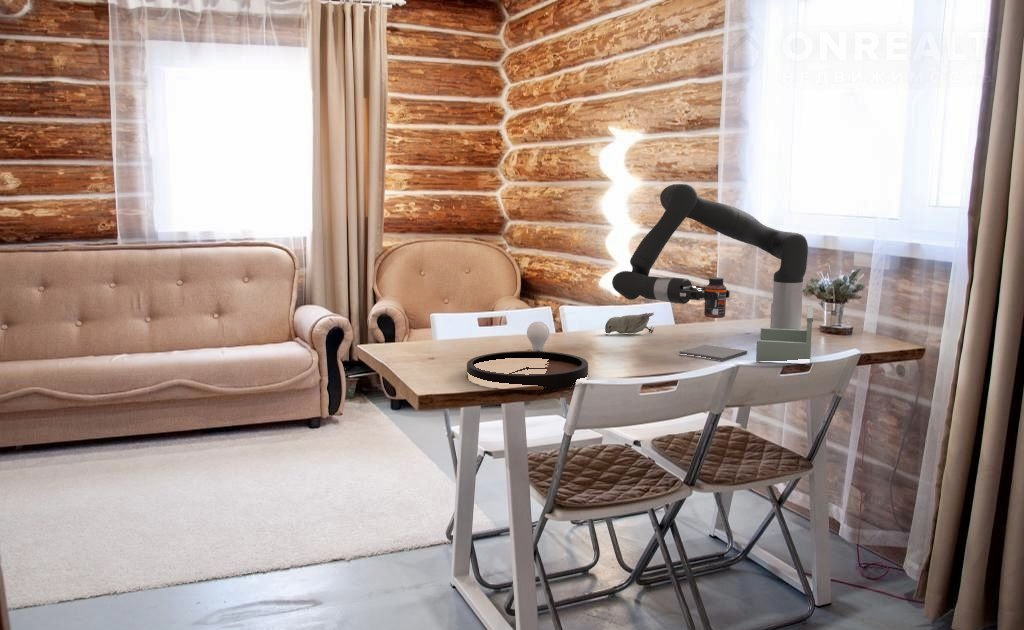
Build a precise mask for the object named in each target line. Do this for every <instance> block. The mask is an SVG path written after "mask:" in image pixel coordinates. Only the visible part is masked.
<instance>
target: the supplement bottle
mask: <svg viewBox="0 0 1024 630" xmlns="http://www.w3.org/2000/svg"><path fill="white" fill-rule="evenodd" d="M708 282H709V283H708V284H706V285H705V286H706V288H705V292H706V291H708V292H717V293H718V300H708V299H705V300H704V310H703V311H704V317H706V318H710V319H722V318H725V317H726V307H727V306H726V305H727V303H726V302H727V298H726V290H727V287H726V286H725V284H724V277H718V276H717V277H715V276H713V277H712V276H711V277H709V279H708Z"/></svg>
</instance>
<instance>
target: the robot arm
mask: <svg viewBox="0 0 1024 630" xmlns="http://www.w3.org/2000/svg"><path fill="white" fill-rule="evenodd" d="M659 196H660V197H659V199H660V204H661V206H662V208H663V209H664V210H665V211H664V212H663V214H662V216H661V217H660V219H659V220H658V221H657V223H656V224H655V225H654V226H653V227H652V228H651V230H649V232H648V233H646V235H645V236H644V237H643V239H642V240H641V241H640V242H639V245H638V246H637V248H636V249H635V251H634V252H633V254H632V256H631V257H630V258H629V259H630V260H629V263H630V265H631V268H632V270H631V271H630V270H622V271H619V272H618V273H616V274H614V276H613V277H612V280H611V286H612V288H613V289H614V291H616V292H617V293H618V294H620V296H622V297H624V298H625V299H627V300H629V301H632V300H636V299H637V298H639V297H642V298H645V300H646V299H647V300H652V301H661V302H664V303H672V304H680V305H685V304H688V303H689V302H690V300H691V301H705V299H708V300H718V293H717V292H708V291H706V292H705V288H706V286H707V285H700V284H694V285H692V281H691V280H690V279H688V278H681V277H672V276H663V277H661V276H652V275H651V276H650V272H651V269H652V268H653V266H654V264H655V263H656V261H657V259H658V258H659V256H660V255H661V253H662V251H663V250H664V248H665V246H666V245H667V243H668V242H669V240H670V239H671V237H672V236H673V235H674V233H675V232H676V231H677V229H678V228H679V227H680V225H681V224H682V223H683V222H684V221H685V219H691V220H693V221H695V222H697V223H700V224H702V225H704V226H705V227H707V228H710V229H712V230H713V231H716V232H717V233H718V234H721V235H724V236H725V237H729V238H731V239H733V240H736V241H738V242H741V243H745V244H748V245H752V246H754V247H757V248H759V249H761V250H763V251H764V252H766V253H768V254H770V255H771V256H772V257H775V258H777V259H778V260H780V267H779V269H778V270H777V271H775V272H774V273H773V284H772V285H773V286H772V303H771V306H770V324H769V326H770V327H769V328H773V329H795V330H802V315H803V314H802V312H803V310H802V309H803V295H804V294H803V293H804V291H803V289H804V288H803V287H804V277H805V275H806V273H807V265H808V255H809V244H808V239H806V237H805V236H804V235H803V234H801V233H799V232H789V231H784V230H783V231H782V230H780V229H775V228H772V227H770V226H767V225H766V224H763V223H762V222H760V221H759V220H758V219H757V218H756V217H754V216H753V215H751V214H750V213H749V212H748V213H747V212H746V211H744V210H742V209H739V208H736V207H735V206H731V205H728V204H725V203H721V202H717V201H712V200H709V199H705V198H702V197H700V196H698V193H697V191H696V189H695V188H694V187H693V186H691V185H689V184H685V183H676V184H671V185H668V186H666V187H664V189H663V190H662V191H661V192H660V195H659ZM730 292H731V291H730V290H729V289H726V299H728V298H730V296H731V295H730Z"/></svg>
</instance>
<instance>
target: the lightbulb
mask: <svg viewBox="0 0 1024 630" xmlns="http://www.w3.org/2000/svg"><path fill="white" fill-rule="evenodd" d="M526 335H527V336H526V337H527V338H528V340H529V342H530V343H531V347H532V349H533V350H532V351H544V349H545V348H544V347H545V344H546V342H547V341H548V339H549V337H550V329H549V326H548V325H547V324H546V323H545V322H542V321H533V322H532V323H530V325H528V327H527V329H526Z"/></svg>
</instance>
